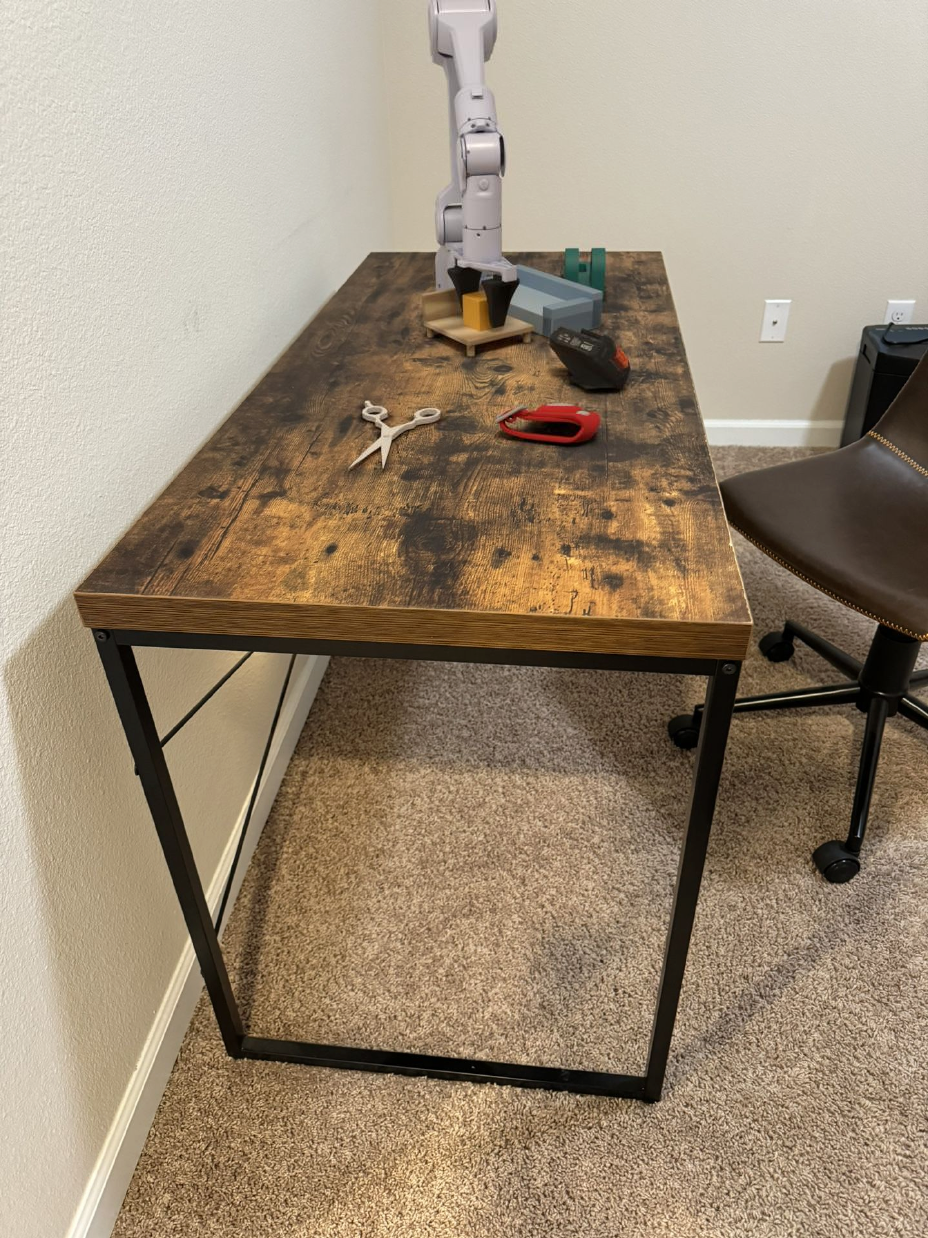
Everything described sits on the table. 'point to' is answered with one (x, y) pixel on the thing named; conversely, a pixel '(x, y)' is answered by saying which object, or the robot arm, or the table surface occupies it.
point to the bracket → (586, 268)
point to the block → (476, 311)
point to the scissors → (392, 433)
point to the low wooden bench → (448, 320)
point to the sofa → (554, 302)
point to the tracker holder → (552, 414)
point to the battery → (590, 358)
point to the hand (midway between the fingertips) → (483, 320)
